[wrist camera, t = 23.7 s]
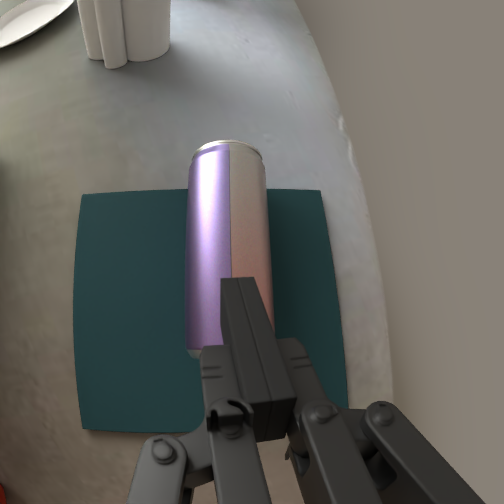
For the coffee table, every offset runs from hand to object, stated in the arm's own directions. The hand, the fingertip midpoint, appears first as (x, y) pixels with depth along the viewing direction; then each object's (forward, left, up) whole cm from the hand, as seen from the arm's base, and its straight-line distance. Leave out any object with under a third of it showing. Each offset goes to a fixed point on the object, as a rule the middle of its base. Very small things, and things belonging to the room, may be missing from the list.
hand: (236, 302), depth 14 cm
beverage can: (0, +3, -7) cm, 7 cm away
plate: (+35, -50, -10) cm, 62 cm away
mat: (+1, -1, -10) cm, 10 cm away
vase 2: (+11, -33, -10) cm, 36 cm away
